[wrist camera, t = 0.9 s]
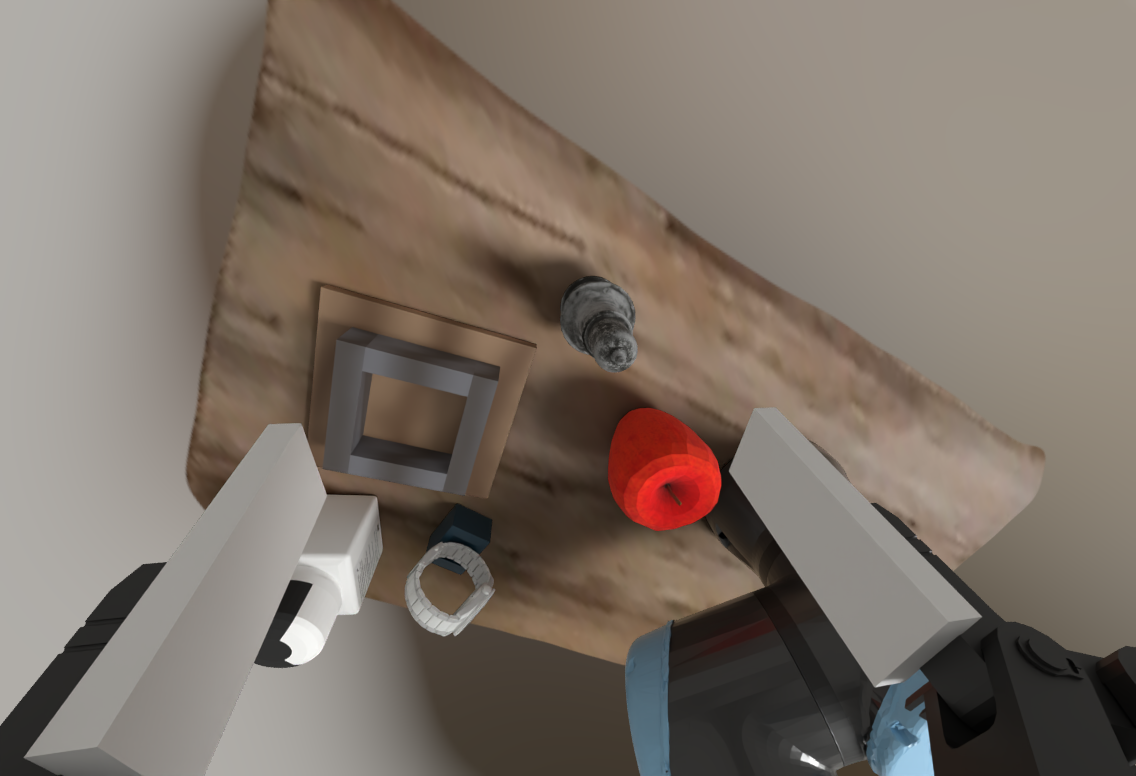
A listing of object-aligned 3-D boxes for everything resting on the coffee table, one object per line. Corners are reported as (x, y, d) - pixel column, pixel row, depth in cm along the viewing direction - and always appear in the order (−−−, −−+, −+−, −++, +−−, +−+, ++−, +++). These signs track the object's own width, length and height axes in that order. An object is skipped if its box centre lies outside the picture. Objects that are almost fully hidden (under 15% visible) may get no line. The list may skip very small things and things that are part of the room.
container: (307, 548, 43) (227, 682, 31) (295, 491, 40) (200, 618, 28) (384, 549, 44) (334, 678, 32) (378, 493, 41) (319, 616, 29)
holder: (536, 344, 35) (537, 362, 32) (488, 492, 42) (485, 520, 38) (326, 284, 31) (301, 296, 28) (310, 457, 38) (288, 485, 34)
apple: (596, 468, 42) (619, 552, 32) (595, 393, 38) (620, 463, 28) (680, 459, 42) (726, 539, 33) (687, 385, 39) (742, 451, 29)
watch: (480, 557, 46) (468, 658, 36) (415, 529, 43) (383, 630, 33) (507, 526, 44) (503, 622, 34) (442, 495, 41) (417, 590, 32)
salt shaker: (619, 264, 33) (665, 301, 22) (629, 331, 36) (675, 393, 25) (549, 281, 33) (562, 326, 22) (565, 347, 36) (582, 415, 25)
